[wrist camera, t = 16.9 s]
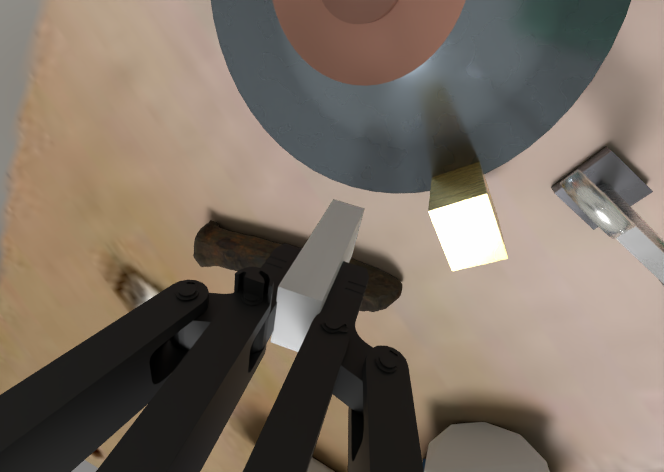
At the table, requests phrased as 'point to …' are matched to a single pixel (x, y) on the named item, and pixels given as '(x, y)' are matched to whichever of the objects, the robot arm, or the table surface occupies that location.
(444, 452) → the valve
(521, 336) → the table surface
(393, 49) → the cover
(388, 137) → the turntable
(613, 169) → the indicator stand
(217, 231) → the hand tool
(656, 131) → the table surface
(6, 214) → the table surface
